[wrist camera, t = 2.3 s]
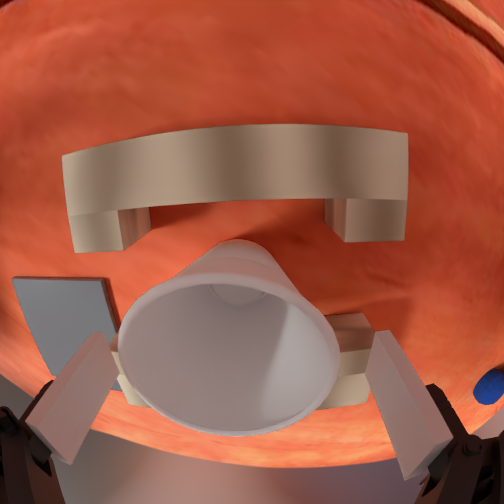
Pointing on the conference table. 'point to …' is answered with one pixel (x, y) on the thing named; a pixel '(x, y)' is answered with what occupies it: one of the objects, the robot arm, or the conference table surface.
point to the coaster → (65, 315)
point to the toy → (490, 387)
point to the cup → (229, 345)
